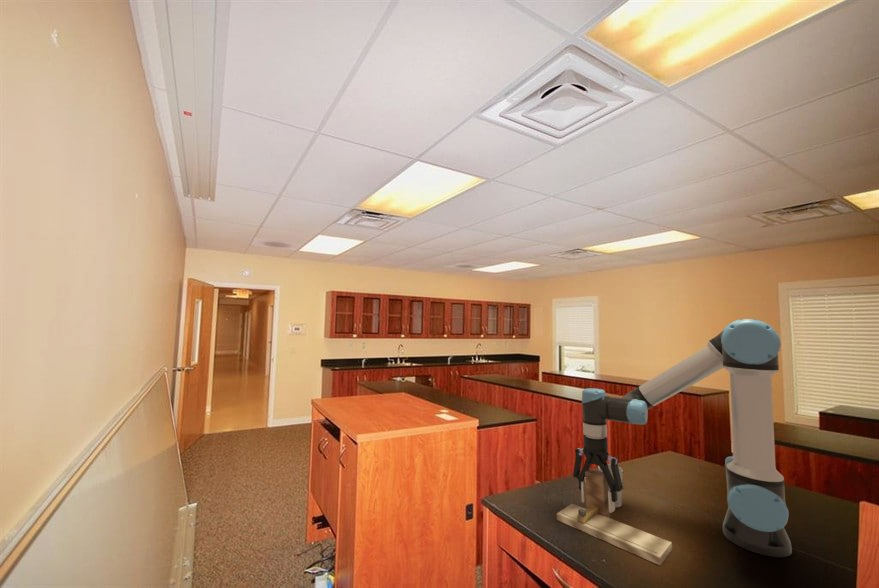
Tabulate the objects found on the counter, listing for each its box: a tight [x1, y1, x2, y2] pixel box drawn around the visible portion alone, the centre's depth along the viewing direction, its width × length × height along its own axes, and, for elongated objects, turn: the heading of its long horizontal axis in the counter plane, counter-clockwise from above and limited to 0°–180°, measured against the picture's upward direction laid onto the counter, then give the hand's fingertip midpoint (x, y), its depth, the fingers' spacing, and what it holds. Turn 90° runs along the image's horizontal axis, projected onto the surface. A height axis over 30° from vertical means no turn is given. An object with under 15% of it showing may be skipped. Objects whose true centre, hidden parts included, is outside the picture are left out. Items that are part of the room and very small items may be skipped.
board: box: [556, 503, 673, 566], centre depth 109 cm, size 30×10×2 cm, turn 41°
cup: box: [597, 463, 624, 508], centre depth 128 cm, size 8×8×12 cm
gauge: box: [577, 468, 611, 523], centre depth 116 cm, size 6×14×14 cm, turn 132°
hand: (597, 505), depth 119 cm, fingers open, 8 cm apart
